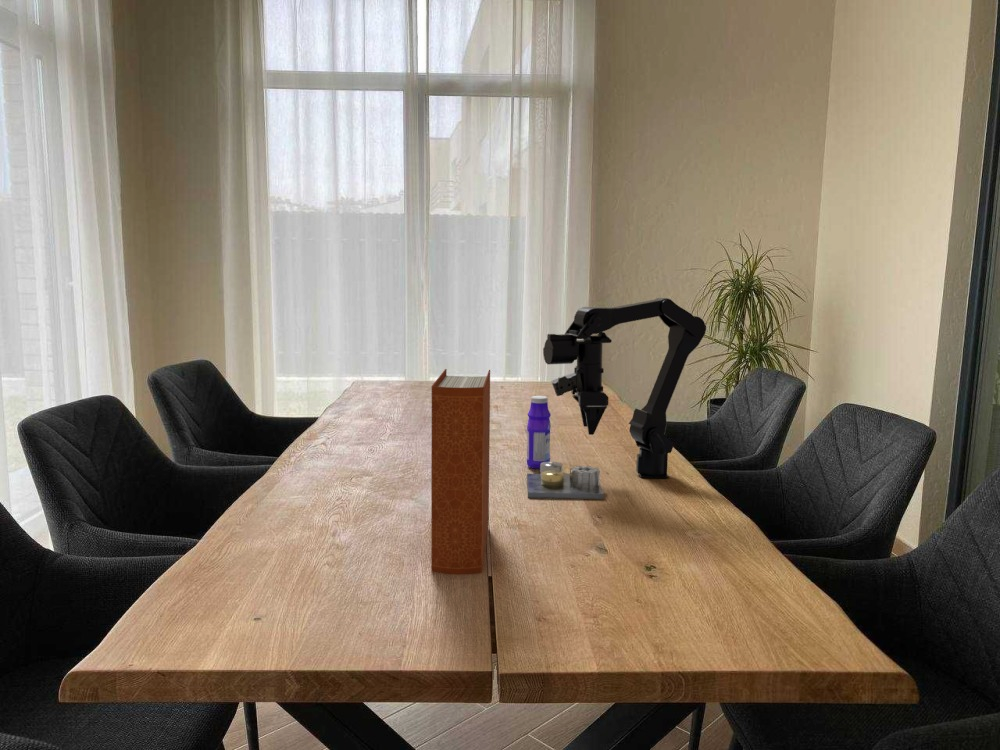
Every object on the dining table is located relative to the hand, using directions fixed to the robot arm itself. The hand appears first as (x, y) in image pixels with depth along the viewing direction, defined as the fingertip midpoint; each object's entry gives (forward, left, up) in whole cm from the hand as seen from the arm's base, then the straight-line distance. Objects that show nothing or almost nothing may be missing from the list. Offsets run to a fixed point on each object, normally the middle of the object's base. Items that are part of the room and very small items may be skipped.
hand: (588, 430), depth 183 cm
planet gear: (+1, +9, -11) cm, 14 cm away
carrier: (+6, +8, -12) cm, 15 cm away
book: (+26, +48, -12) cm, 55 cm away
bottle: (+11, -12, -12) cm, 20 cm away
